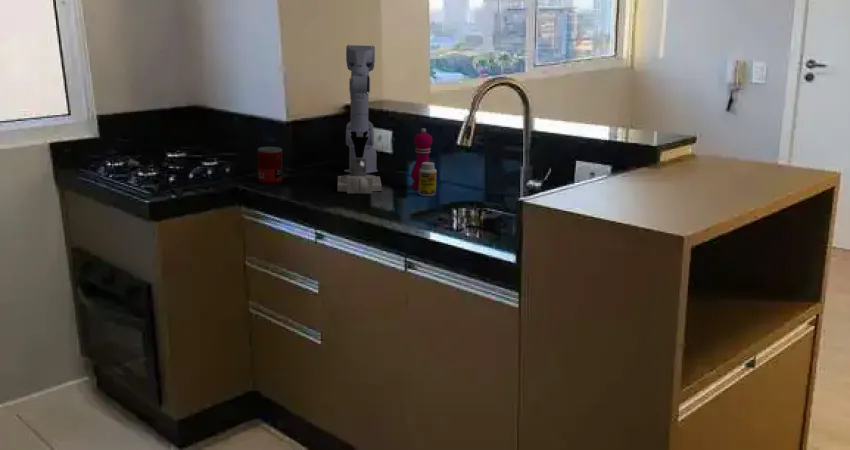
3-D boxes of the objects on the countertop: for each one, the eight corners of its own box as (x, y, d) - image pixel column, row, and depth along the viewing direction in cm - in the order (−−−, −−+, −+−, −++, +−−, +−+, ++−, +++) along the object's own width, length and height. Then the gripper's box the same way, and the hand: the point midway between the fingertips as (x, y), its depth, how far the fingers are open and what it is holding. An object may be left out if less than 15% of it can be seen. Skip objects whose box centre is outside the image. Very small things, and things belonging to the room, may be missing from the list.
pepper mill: (430, 191, 264) (432, 130, 259) (408, 190, 265) (410, 128, 260) (434, 187, 271) (436, 127, 265) (413, 185, 272) (414, 125, 267)
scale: (337, 181, 274) (338, 166, 272) (379, 182, 275) (379, 166, 274) (337, 193, 258) (337, 177, 256) (381, 193, 259) (382, 177, 258)
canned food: (280, 184, 268) (279, 151, 265) (256, 183, 268) (255, 150, 265) (284, 179, 275) (284, 147, 272) (261, 178, 275) (260, 146, 272)
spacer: (359, 175, 270) (359, 157, 269) (369, 178, 267) (369, 160, 265) (347, 177, 267) (347, 159, 265) (356, 180, 263) (356, 161, 262)
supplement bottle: (418, 196, 257) (419, 164, 254) (418, 192, 263) (419, 161, 260) (436, 196, 257) (437, 165, 255) (435, 192, 263) (436, 161, 260)
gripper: (346, 110, 268) (346, 151, 272) (347, 116, 254) (346, 159, 258) (368, 110, 269) (367, 151, 273) (369, 117, 255) (369, 159, 259)
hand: (359, 155), depth 265 cm, fingers open, 7 cm apart
